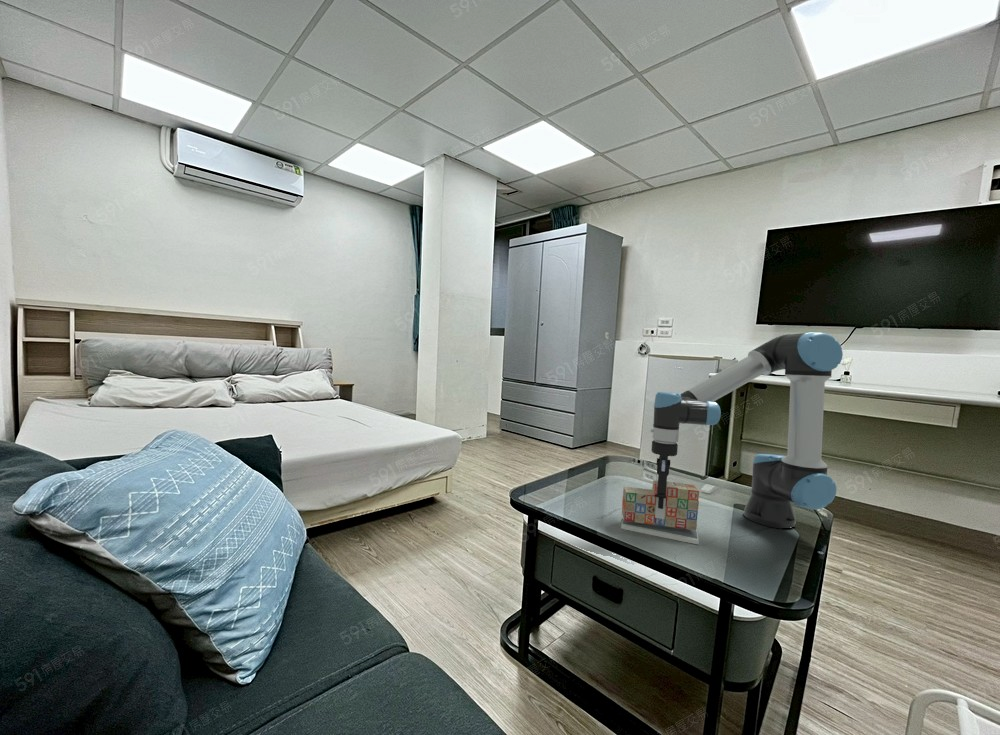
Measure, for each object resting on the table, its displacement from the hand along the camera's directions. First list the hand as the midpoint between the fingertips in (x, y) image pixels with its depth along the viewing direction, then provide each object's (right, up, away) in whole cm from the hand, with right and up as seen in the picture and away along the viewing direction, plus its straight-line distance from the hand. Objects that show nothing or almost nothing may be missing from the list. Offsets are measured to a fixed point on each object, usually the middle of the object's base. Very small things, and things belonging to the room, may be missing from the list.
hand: (659, 513), depth 127 cm
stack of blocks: (-1, -3, 0) cm, 3 cm away
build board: (0, -5, 0) cm, 5 cm away
